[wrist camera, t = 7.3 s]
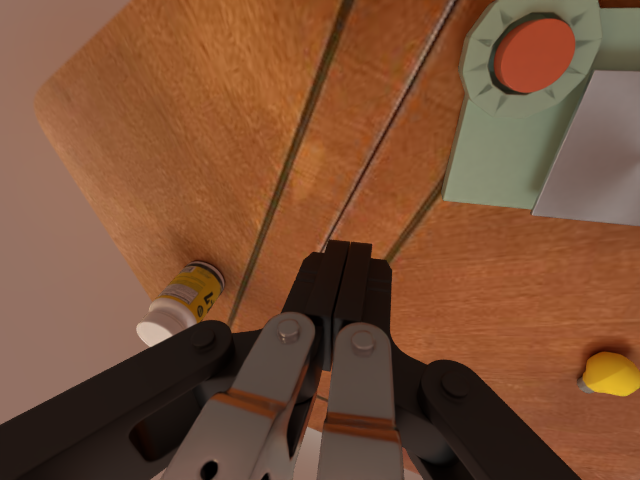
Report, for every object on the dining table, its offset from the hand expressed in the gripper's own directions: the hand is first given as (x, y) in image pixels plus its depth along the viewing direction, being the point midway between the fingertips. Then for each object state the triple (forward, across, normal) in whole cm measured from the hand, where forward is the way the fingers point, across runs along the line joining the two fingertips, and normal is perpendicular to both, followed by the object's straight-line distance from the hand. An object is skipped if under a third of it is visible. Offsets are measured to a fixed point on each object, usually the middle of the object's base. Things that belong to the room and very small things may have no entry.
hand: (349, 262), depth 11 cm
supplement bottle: (+14, +17, +15) cm, 27 cm away
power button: (+11, -7, -6) cm, 15 cm away
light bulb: (+14, -22, +19) cm, 32 cm away
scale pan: (+11, -14, -1) cm, 18 cm away
